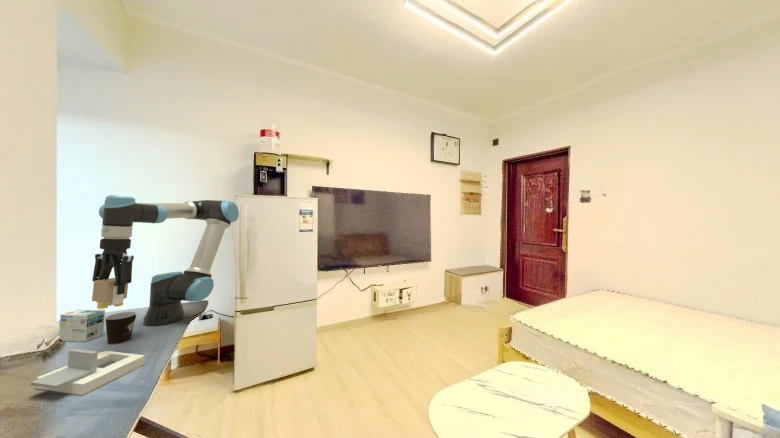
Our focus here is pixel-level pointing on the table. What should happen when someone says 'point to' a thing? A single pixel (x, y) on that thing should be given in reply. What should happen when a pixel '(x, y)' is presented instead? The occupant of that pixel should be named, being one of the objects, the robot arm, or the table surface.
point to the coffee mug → (120, 327)
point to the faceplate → (101, 372)
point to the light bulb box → (81, 325)
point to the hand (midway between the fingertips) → (109, 302)
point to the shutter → (71, 369)
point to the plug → (105, 292)
